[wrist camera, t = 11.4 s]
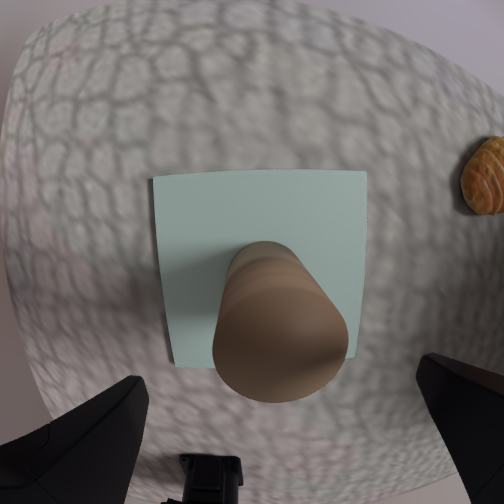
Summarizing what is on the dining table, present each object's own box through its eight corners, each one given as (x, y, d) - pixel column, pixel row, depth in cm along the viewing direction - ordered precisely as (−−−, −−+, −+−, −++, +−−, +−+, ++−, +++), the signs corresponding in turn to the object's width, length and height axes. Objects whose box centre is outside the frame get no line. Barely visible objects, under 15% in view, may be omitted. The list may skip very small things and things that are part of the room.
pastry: (467, 232, 19) (496, 239, 15) (445, 159, 18) (475, 156, 14) (514, 193, 18) (539, 196, 14) (495, 131, 17) (521, 127, 13)
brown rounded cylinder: (301, 311, 19) (339, 395, 10) (229, 314, 19) (218, 404, 10) (303, 239, 18) (355, 283, 9) (225, 242, 18) (205, 291, 9)
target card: (352, 353, 20) (354, 357, 20) (177, 362, 20) (175, 367, 20) (362, 172, 18) (366, 171, 17) (155, 177, 17) (153, 176, 17)
